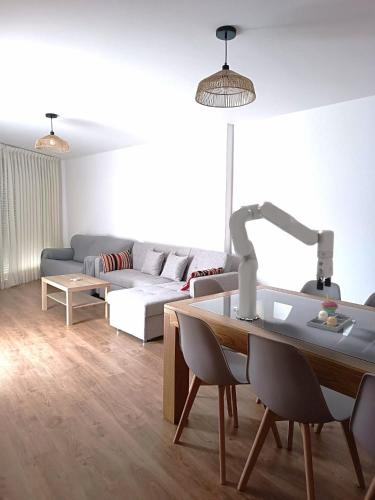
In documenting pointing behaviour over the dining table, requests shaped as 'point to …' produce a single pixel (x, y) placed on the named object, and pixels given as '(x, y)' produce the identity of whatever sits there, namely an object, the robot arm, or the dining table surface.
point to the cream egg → (323, 315)
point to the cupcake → (329, 306)
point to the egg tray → (322, 324)
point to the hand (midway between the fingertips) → (323, 288)
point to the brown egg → (332, 321)
